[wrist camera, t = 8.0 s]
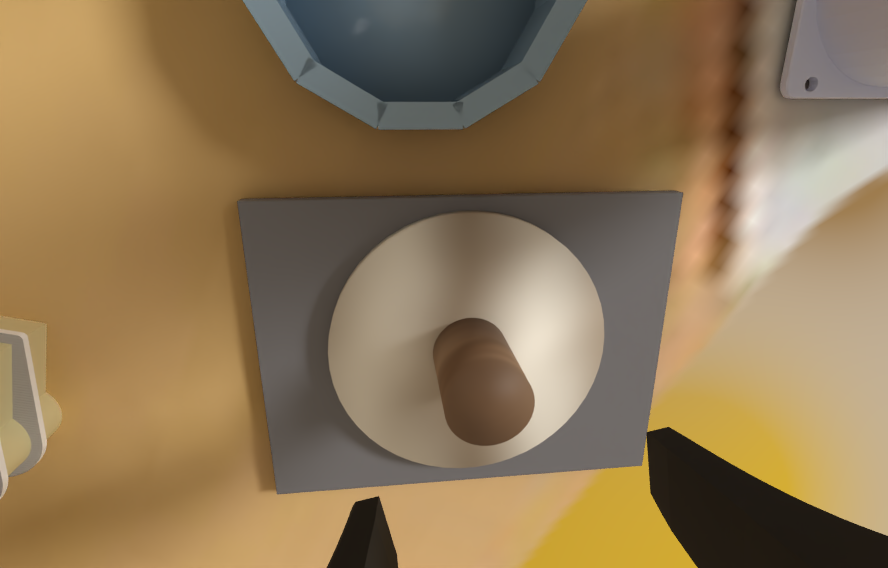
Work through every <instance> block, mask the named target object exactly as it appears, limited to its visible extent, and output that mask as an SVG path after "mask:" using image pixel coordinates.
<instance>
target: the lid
mask: <svg viewBox="0 0 888 568" xmlns="http://www.w3.org/2000/svg"><path fill="white" fill-rule="evenodd" d="M603 345H604V318H603V313H602V307H601V303H600V300H599V297H598V294H597V291H596V288H595V286H594V284H593V282H592V280H591V278H590V276H589V274H588V273H587V271H586V270H585V268H584V267H583V266H582V264H581V263H580V261H579V260H578V259H577V258H576V257H575V256H574V255H573V254H572V253H571V252H570V250H569V249H568V248H567V247H565V246H564V245H563V244H562V243H560V242H559V241H558V240H556V239H555V238H554V237H553V236H551V235H550V234H548V233H547V232H545V231H544V230H542V229H540V228H538V227H537V226H535V225H533V224H531V223H529V222H526V221H524V220H521V219H519V218H516V217H514V216H510V215H505V214H501V213H497V212H489V211H480V210H470V211H454V212H448V213H442V214H437V215H434V216H431V217H427V218H424V219H421V220H418V221H416V222H414V223H412V224H409V225H407V226H405V227H403V228H401V229H400V230H398V231H396V232H395V233H393V234H391V235H390V236H388V237H387V238H385V239H384V240H383V241H382V242H380V243H379V244H378V245H377V246H375V247H374V248H373V249H372V250H371V251H370V252H369V253H368V254H367V255H366V256H365V257H364V258H363V259H362V260H361V261H360V262H359V264H358V265H357V267H356V268H355V269H354V271H353V272H352V274H351V275H350V276H349V278H348V280H347V282H346V283H345V285H344V287H343V289H342V291H341V293H340V296H339V298H338V301H337V304H336V307H335V309H334V313H333V317H332V322H331V327H330V331H329V340H328V359H329V369H330V373H331V377H332V382H333V385H334V388H335V390H336V393H337V395H338V398H339V400H340V402H341V404H342V405H343V407H344V409H345V410H346V412H347V414H348V415H349V416H350V418H351V419H352V420H353V421H354V423H355V424H356V425H357V426H358V428H359V429H361V430H362V431H363V432H364V433H365V434H366V435H367V436H368V437H369V438H370V439H372V440H373V441H374V442H376V443H377V444H378V445H380V446H381V447H383V448H384V449H386V450H388V451H390V452H392V453H394V454H395V455H397V456H400V457H402V458H405V459H407V460H410V461H413V462H417V463H420V464H424V465H428V466H435V467H443V468H469V467H479V466H484V465H489V464H494V463H497V462H501V461H504V460H507V459H510V458H512V457H515V456H517V455H519V454H522V453H524V452H526V451H528V450H530V449H531V448H533V447H535V446H537V445H539V444H540V443H541V442H543V441H544V440H546V439H547V438H548V437H550V436H551V435H553V434H554V433H555V432H556V431H557V430H558V429H559V428H561V427H562V426H563V425H564V424H565V423H566V422H567V421H568V420H569V418H570V417H571V416H572V415H573V414H574V413H575V412H576V410H577V409H578V408H579V406H580V405H581V403H582V402H583V400H584V399H585V398H586V396H587V394H588V392H589V390H590V388H591V386H592V384H593V382H594V380H595V377H596V374H597V372H598V369H599V366H600V362H601V358H602V353H603Z"/></svg>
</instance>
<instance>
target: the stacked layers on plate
mask: <svg viewBox="0 0 888 568" xmlns="http://www.w3.org/2000/svg"><path fill="white" fill-rule="evenodd" d="M46 346H47V323H43V322H37V321H31V320H25V319H18V318H12V317H6V316H0V499H1V498H2V497H3V495H4V494H5V492H6V490H7V487H8V477H12V476H16V475H20V474H22V473H25V472H27V471H28V470H30V469H31V468H32V467H34V466H35V465H36V464H37V463H38V462H39V461H40V460H41V458H42V457H43V455H44V453H45V451H46V447H47V439H48V438H49V437H50V436H51V435H52V434H53V433H54V432H55V431H56V430H57V429H58V428H59V426H60V424H61V422H62V411H61V408H60V406H59V404H58V403H57V401H56V400H55V399H54V398H53V397H52V396H51V395H50V394H48V393H47V392H46Z"/></svg>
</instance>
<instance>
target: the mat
mask: <svg viewBox="0 0 888 568" xmlns="http://www.w3.org/2000/svg"><path fill="white" fill-rule="evenodd" d="M682 197H683V193H682V192H678V191H626V192H574V193H521V194H469V195H417V196H364V197H312V198H259V199H241V200H239V201H237V204H238V211H239V218H240V226H241V233H242V240H243V248H244V255H245V262H246V270H247V277H248V284H249V292H250V299H251V306H252V314H253V321H254V328H255V336H256V343H257V350H258V358H259V365H260V372H261V380H262V387H263V394H264V402H265V409H266V416H267V424H268V431H269V438H270V446H271V453H272V460H273V468H274V475H275V482H276V490H277V494H287V493H300V492H313V491H325V490H338V489H351V488H363V487H376V486H389V485H402V484H414V483H427V482H440V481H452V480H465V479H478V478H491V477H503V476H516V475H529V474H541V473H554V472H567V471H579V470H592V469H605V468H618V467H630V466H642V461H643V455H644V448H645V441H646V435H647V434H646V432H647V428H648V422H649V415H650V408H651V402H652V395H653V389H654V382H655V375H656V369H657V362H658V356H659V349H660V342H661V336H662V329H663V322H664V316H665V309H666V303H667V296H668V289H669V283H670V276H671V270H672V263H673V256H674V250H675V243H676V237H677V230H678V223H679V217H680V210H681V204H682ZM470 210H480V211H489V212H497V213H501V214H505V215H510V216H514V217H516V218H519V219H521V220H524V221H526V222H529V223H531V224H533V225H535V226H537V227H538V228H540V229H542V230H544V231H545V232H547V233H548V234H550V235H551V236H553V237H554V238H555V239H556V240H558V241H559V242H560V243H562V244H563V245H564V246H565V247H567V248H568V249H569V250H570V252H571V253H572V254H573V255H574V256H575V257H576V258H577V259H578V260H579V261H580V263H581V264H582V266H583V267H584V268H585V270H586V271H587V273H588V274H589V276H590V278H591V280H592V282H593V284H594V286H595V288H596V291H597V294H598V297H599V300H600V303H601V307H602V313H603V318H604V345H603V353H602V358H601V362H600V366H599V369H598V372H597V374H596V377H595V380H594V382H593V384H592V386H591V388H590V390H589V392H588V394H587V396H586V398H585V399H584V400H583V402H582V403H581V405H580V406H579V408H578V409H577V410H576V412H575V413H574V414H573V415H572V416H571V417H570V418H569V420H568V421H567V422H566V423H565V424H564V425H563V426H562V427H561V428H559V429H558V430H557V431H556V432H555V433H554V434H553V435H551V436H550V437H548V438H547V439H546V440H544V441H543V442H541V443H540V444H539V445H537V446H535V447H533V448H531V449H530V450H528V451H526V452H524V453H522V454H519V455H517V456H515V457H512V458H510V459H507V460H504V461H501V462H497V463H494V464H489V465H484V466H479V467H469V468H443V467H435V466H428V465H424V464H420V463H417V462H413V461H410V460H407V459H405V458H402V457H400V456H397V455H395V454H394V453H392V452H390V451H388V450H386V449H384V448H383V447H381V446H380V445H378V444H377V443H376V442H374V441H373V440H372V439H370V438H369V437H368V436H367V435H366V434H365V433H364V432H363V431H362V430H361V429H359V428H358V426H357V425H356V424H355V423H354V421H353V420H352V419H351V418H350V416H349V415H348V414H347V412H346V410H345V409H344V407H343V405H342V404H341V402H340V400H339V398H338V395H337V393H336V390H335V388H334V385H333V382H332V377H331V373H330V369H329V359H328V340H329V331H330V327H331V322H332V317H333V313H334V309H335V307H336V304H337V301H338V298H339V296H340V293H341V291H342V289H343V287H344V285H345V283H346V282H347V280H348V278H349V276H350V275H351V274H352V272H353V271H354V269H355V268H356V267H357V265H358V264H359V262H360V261H361V260H362V259H363V258H364V257H365V256H366V255H367V254H368V253H369V252H370V251H371V250H372V249H373V248H374V247H375V246H377V245H378V244H379V243H380V242H382V241H383V240H384V239H385V238H387V237H388V236H390V235H391V234H393V233H395V232H396V231H398V230H400V229H401V228H403V227H405V226H407V225H409V224H412V223H414V222H416V221H418V220H421V219H424V218H427V217H431V216H434V215H437V214H442V213H448V212H454V211H470Z"/></svg>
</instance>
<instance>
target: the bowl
mask: <svg viewBox="0 0 888 568" xmlns="http://www.w3.org/2000/svg"><path fill="white" fill-rule="evenodd" d="M243 2H244V3H245V5H246V7H247V8H248V10H249V11H250V13H251V14H252V16H253V17H254V19H255V21H256V22H257V24H258V25H259V27H260V28H261V30H262V32H263V33H264V35H265V36H266V38H267V39H268V41H269V42H270V44H271V46H272V47H273V49H274V50H275V52H276V53H277V55H278V57H279V58H280V60H281V61H282V63H283V64H284V66H285V68H286V69H287V71H288V72H289V74H290V75H291V77H292V78H293V80H294V81H296V83H297V84H299V85H301V86H302V87H304V88H306V89H308V90H309V91H311V92H313V93H315V94H316V95H318V96H320V97H321V98H323V99H325V100H327V101H328V102H330V103H332V104H334V105H335V106H337V107H339V108H340V109H342V110H344V111H346V112H347V113H349V114H351V115H353V116H354V117H356V118H358V119H359V120H361V121H363V122H365V123H366V124H368V125H370V126H372V127H373V128H375V129H376V128H377V127H378V130H421V129H463V128H467V127H469V126H470V125H472V124H473V123H475V122H477V121H478V120H480V119H482V118H483V117H485V116H487V115H488V114H490V113H491V112H493V111H495V110H496V109H498V108H500V107H501V106H503V105H505V104H506V103H508V102H509V101H511V100H513V99H514V98H516V97H518V96H519V95H521V94H522V93H524V92H526V91H527V90H529V89H531V88H532V87H534V86H536V85H537V84H538V82H540V81H541V80H542V78H543V76H544V74H545V73H546V71H547V69H548V67H549V66H550V64H551V62H552V60H553V59H554V57H555V55H556V54H557V52H558V50H559V48H560V47H561V45H562V43H563V41H564V40H565V38H566V36H567V35H568V33H569V31H570V29H571V28H572V26H573V24H574V22H575V21H576V19H577V17H578V16H579V14H580V12H581V10H582V9H583V7H584V5H585V3H586V2H587V0H243Z"/></svg>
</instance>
